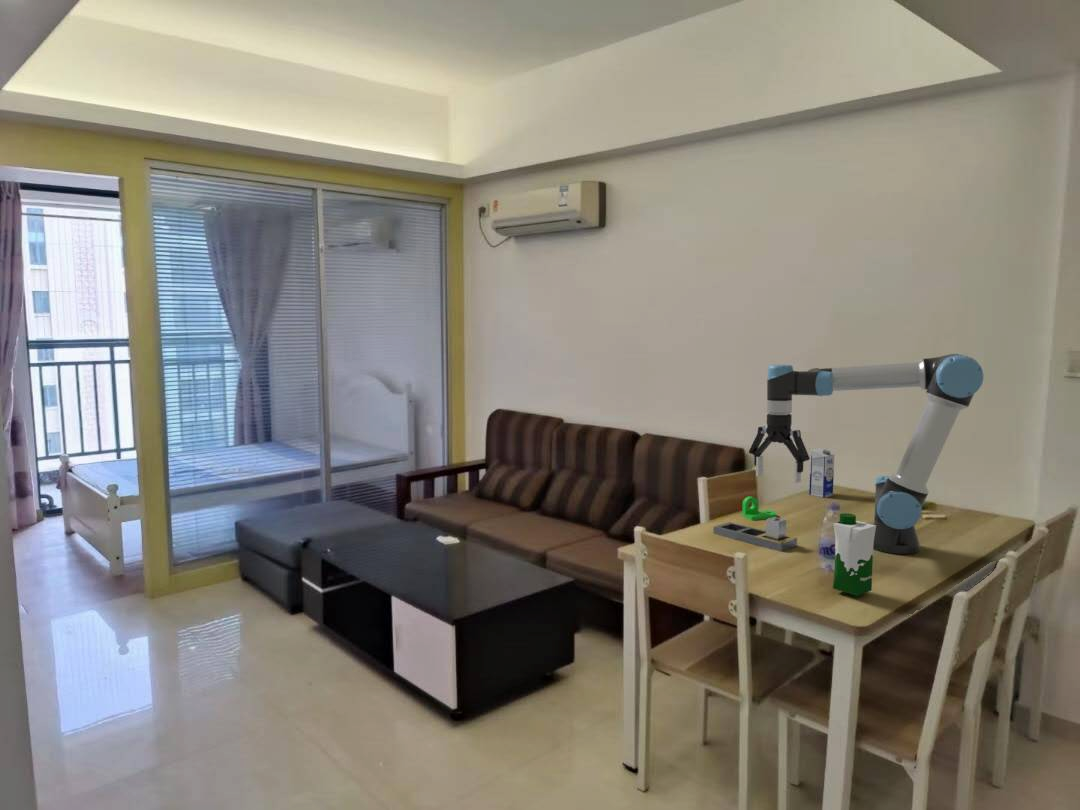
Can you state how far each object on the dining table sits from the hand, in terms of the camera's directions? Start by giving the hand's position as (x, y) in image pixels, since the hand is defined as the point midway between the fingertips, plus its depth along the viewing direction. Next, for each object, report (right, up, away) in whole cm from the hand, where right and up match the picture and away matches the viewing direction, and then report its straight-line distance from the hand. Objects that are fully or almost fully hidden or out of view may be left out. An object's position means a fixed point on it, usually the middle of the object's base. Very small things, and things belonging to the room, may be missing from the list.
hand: (777, 479), depth 234 cm
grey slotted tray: (-5, -21, +8) cm, 23 cm away
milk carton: (+40, -15, +68) cm, 80 cm away
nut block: (0, -21, +2) cm, 21 cm away
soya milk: (+8, -26, -38) cm, 46 cm away
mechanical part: (+5, -18, +36) cm, 41 cm away
